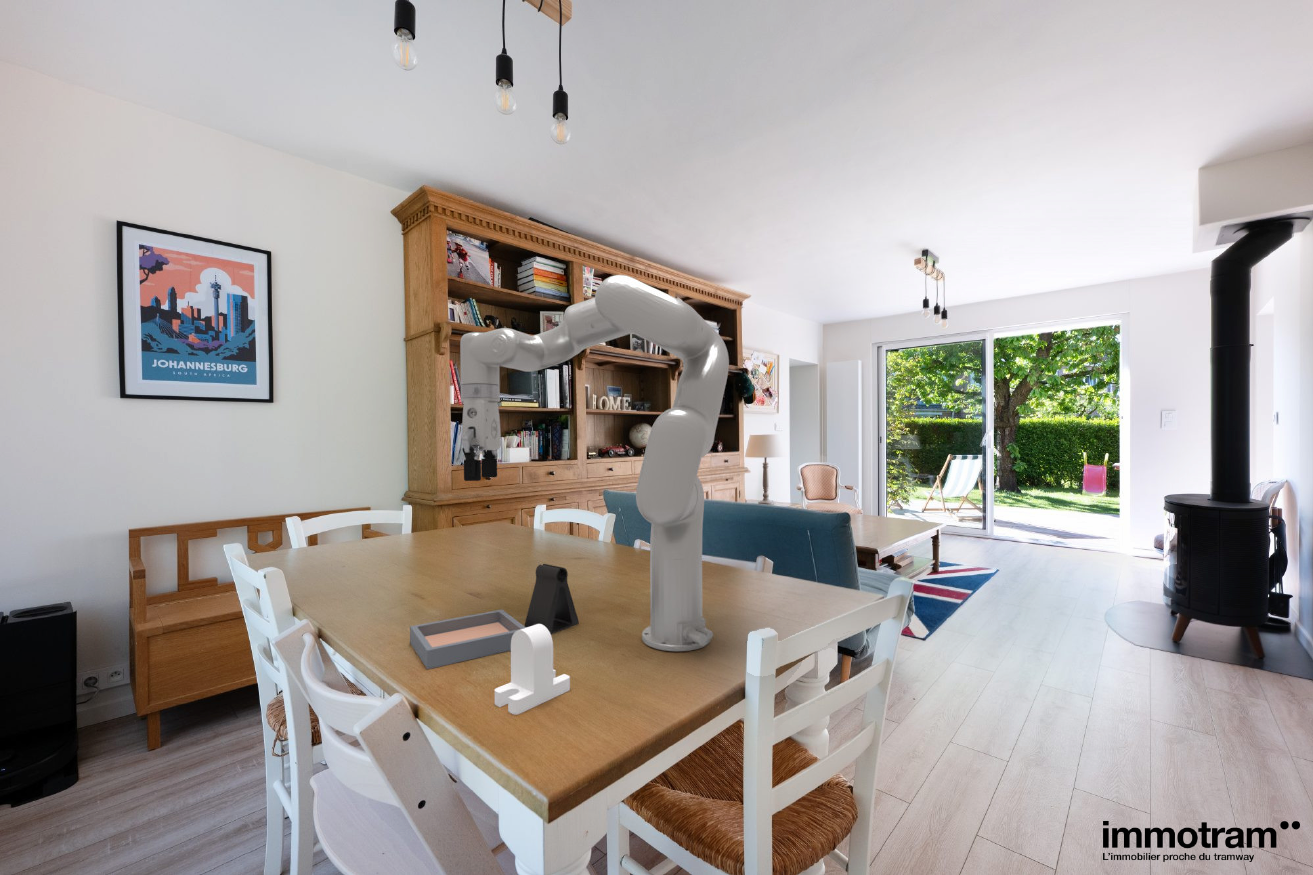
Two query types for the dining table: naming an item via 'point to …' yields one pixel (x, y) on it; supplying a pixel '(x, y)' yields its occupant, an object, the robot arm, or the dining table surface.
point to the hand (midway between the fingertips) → (481, 478)
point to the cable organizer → (531, 672)
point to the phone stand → (551, 600)
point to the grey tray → (463, 638)
